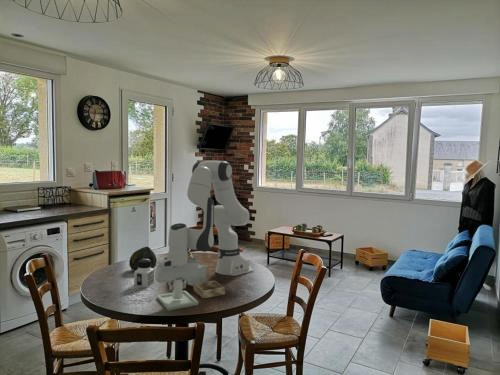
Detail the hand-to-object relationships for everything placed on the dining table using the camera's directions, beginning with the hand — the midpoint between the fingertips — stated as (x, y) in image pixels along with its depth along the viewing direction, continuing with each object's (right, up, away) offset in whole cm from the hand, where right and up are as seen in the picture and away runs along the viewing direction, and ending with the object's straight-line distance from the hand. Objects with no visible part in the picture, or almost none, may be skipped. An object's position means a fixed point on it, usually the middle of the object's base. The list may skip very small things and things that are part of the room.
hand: (177, 288), depth 170 cm
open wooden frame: (+13, -6, +13) cm, 19 cm away
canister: (0, -4, 0) cm, 4 cm away
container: (-22, -4, +22) cm, 31 cm away
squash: (-29, -2, +46) cm, 54 cm away
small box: (+6, -5, +24) cm, 25 cm away
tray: (0, -6, 0) cm, 6 cm away
